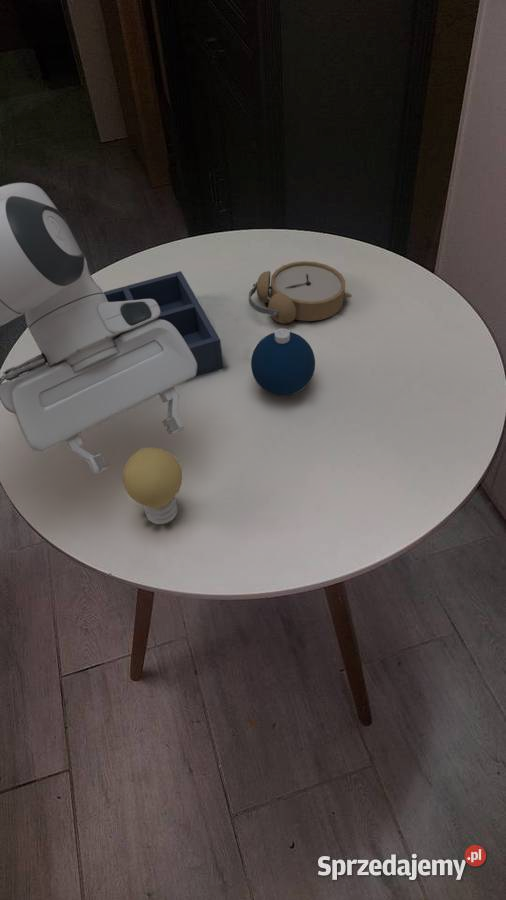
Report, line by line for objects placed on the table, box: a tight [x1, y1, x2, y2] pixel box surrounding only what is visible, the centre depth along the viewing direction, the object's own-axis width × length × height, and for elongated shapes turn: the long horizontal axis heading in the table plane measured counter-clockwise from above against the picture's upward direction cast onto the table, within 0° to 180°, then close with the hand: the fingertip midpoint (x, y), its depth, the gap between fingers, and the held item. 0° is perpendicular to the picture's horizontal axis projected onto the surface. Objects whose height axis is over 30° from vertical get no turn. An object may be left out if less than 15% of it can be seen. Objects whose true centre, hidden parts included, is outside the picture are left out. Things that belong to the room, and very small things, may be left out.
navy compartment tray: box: [103, 270, 224, 377], centre depth 98 cm, size 18×18×5 cm
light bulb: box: [122, 447, 183, 525], centre depth 76 cm, size 6×6×10 cm
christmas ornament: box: [250, 327, 316, 397], centre depth 89 cm, size 8×8×10 cm
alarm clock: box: [248, 260, 353, 325], centre depth 103 cm, size 11×5×15 cm
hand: (139, 451), depth 75 cm, fingers open, 8 cm apart
